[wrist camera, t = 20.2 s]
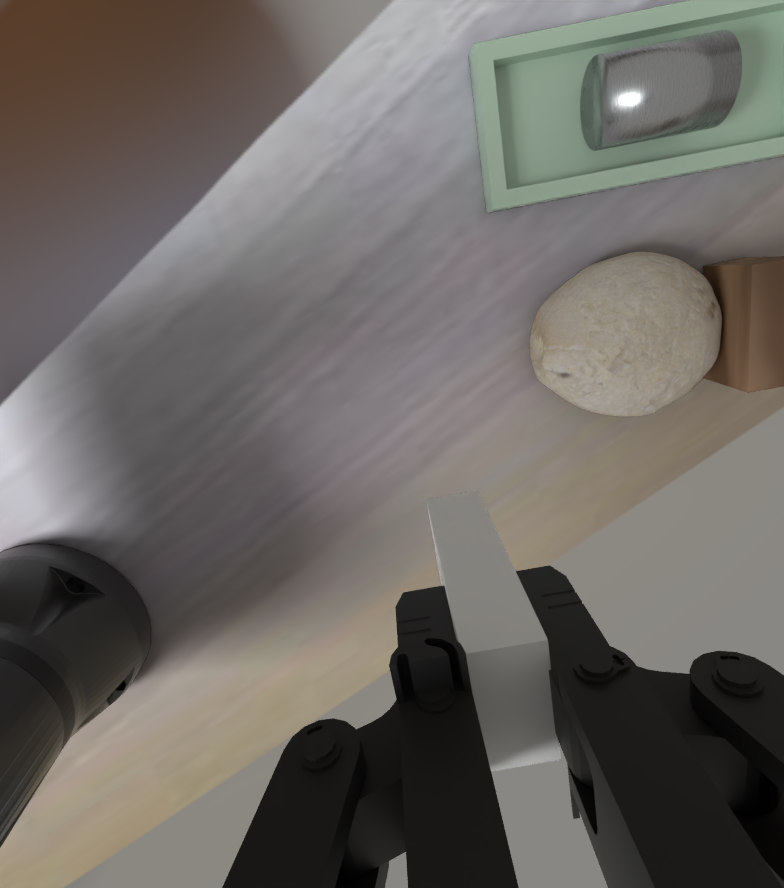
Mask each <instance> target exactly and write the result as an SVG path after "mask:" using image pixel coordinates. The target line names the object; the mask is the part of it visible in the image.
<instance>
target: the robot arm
mask: <svg viewBox="0 0 784 888" xmlns="http://www.w3.org/2000/svg"><path fill="white" fill-rule="evenodd" d="M426 501H427V507H428V512H429V518H430V524H431V529H432V535H433V541H434V547H435V552H436V558H437V564H438V569H439V575H440V581H441V585H442V586H438V587H432V588H427V589H421V590H415V591H409V592H404V593H403V594H402V596H401V598H400V600H399V602H398V603H397V605H396V621H397V635H398V648H397V649H396V650H395V651H394V653H393V654H392V656H391V660H390V664H389V667H390V671H391V675H392V680H393V685H394V689H395V694H396V698H397V700H396V702H395V703H394V705H393V706H392V707H391V708H390V710H388V711H387V712H386V713H385V714H384V715H383V716H382V717H380V718H378V719H377V720H375V721H373V722H371V723H369V724H367V725H365V726H363V727H361V728H358V729H355V728H354V727H353V726H351V725H350V724H349V723H347V722H346V721H342V720H337V719H326V720H319V721H316V722H314V723H312V724H310V725H308V726H305V727H304V728H303V729H301V730H300V731H299V732H298V733H297V734H295V735H294V736H293V737H292V738H291V740H290V741H289V743H288V744H287V746H286V748H285V749H284V751H283V753H282V755H281V758H280V760H279V762H278V764H277V766H276V769H275V771H274V773H273V775H272V778H271V780H270V782H269V785H268V786H267V789H266V791H265V793H264V795H263V798H262V800H261V802H260V805H259V807H258V809H257V812H256V814H255V816H254V818H253V820H252V823H251V825H250V827H249V829H248V831H247V834H246V836H245V838H244V841H243V842H242V845H241V847H240V849H239V851H238V854H237V856H236V858H235V860H234V863H233V865H232V867H231V869H230V872H229V874H228V876H227V879H226V881H225V883H224V885H223V887H222V888H385V883H386V878H387V873H388V868H389V861H390V860H391V859H393V858H395V857H397V856H399V855H400V854H402V853H404V852H406V856H407V857H406V858H407V875H408V888H518V884H517V879H516V875H515V871H514V867H513V863H512V858H511V854H510V850H509V846H508V841H507V837H506V833H505V829H504V824H503V820H502V816H501V812H500V807H499V803H498V799H497V795H496V790H495V786H494V782H493V778H492V774H491V771H496V770H501V769H508V768H514V767H520V766H526V765H533V764H539V763H545V762H550V761H557V760H560V759H561V758H560V749H559V743H560V745H561V748H562V751H563V753H564V756H565V758H566V761H567V765H568V775H569V785H570V793H571V794H570V795H571V803H572V811H573V817H574V819H575V818H580V815H579V812H580V814H581V817H582V820H583V822H584V825H585V827H586V830H587V833H588V835H589V838H590V840H591V843H592V846H593V848H594V851H595V854H596V856H597V859H598V862H599V865H600V867H601V870H602V873H603V875H604V878H605V880H606V883H607V886H608V888H784V675H782V674H781V673H779V672H778V671H776V670H775V669H774V668H772V667H771V666H769V665H767V664H765V663H764V662H761V661H760V660H758V659H756V658H754V657H751V656H747V655H744V654H741V653H737V652H726V651H715V652H711V653H706V654H703V655H701V656H700V657H698V658H697V659H695V660H694V661H693V664H692V666H691V668H690V674H684V673H671V672H659V671H653V670H647V669H644V668H641V667H638V666H636V665H635V663H634V662H633V661H632V660H631V659H630V658H629V657H628V656H627V655H626V654H625V653H623V652H621V651H619V650H617V649H615V648H613V647H610V646H609V644H608V642H607V641H606V639H605V638H604V636H603V634H602V633H601V631H600V630H599V628H598V627H597V625H596V623H595V622H594V620H593V619H592V617H591V615H590V614H589V612H588V611H587V609H586V607H585V606H584V604H582V601H581V600H580V598H579V596H578V595H577V593H575V591H574V588H573V587H572V585H571V584H570V582H569V580H568V579H567V577H566V576H565V575H564V574H562V573H560V572H559V571H557V570H556V569H554V568H553V567H551V566H544V567H538V568H533V569H527V570H521V571H515V569H514V567H513V565H512V563H511V560H510V558H509V556H508V554H507V552H506V550H505V548H504V546H503V543H502V541H501V539H500V537H499V535H498V533H497V531H496V529H495V526H494V524H493V522H492V520H491V518H490V516H489V514H488V512H487V509H486V507H485V505H484V503H483V501H482V499H481V497H480V495H479V492H478V490H476V491H470V492H465V493H459V494H454V495H448V496H443V497H437V498H431V499H426ZM150 641H151V628H150V621H149V617H148V614H147V611H146V609H145V606H144V604H143V602H142V600H141V598H140V597H139V595H138V594H137V592H136V591H135V589H134V588H133V587H132V586H131V585H130V583H129V582H128V581H127V580H126V579H125V578H124V577H123V576H122V575H121V574H119V573H118V572H117V571H116V570H114V569H113V568H112V567H110V566H109V565H107V564H106V563H104V562H103V561H101V560H99V559H97V558H95V557H93V556H91V555H89V554H86V553H84V552H81V551H78V550H75V549H72V548H68V547H63V546H57V545H47V544H34V545H25V546H19V547H14V548H11V549H8V550H5V551H3V552H0V847H1V846H2V844H3V843H4V841H5V840H6V838H7V836H8V835H9V833H10V832H11V830H12V828H13V827H14V825H15V824H16V822H17V820H18V819H19V817H20V816H21V814H22V813H23V811H24V809H25V808H26V806H27V805H28V803H29V801H30V800H31V798H32V797H33V795H34V794H35V792H36V790H37V789H38V787H39V786H40V784H41V782H42V781H43V779H44V778H45V776H46V774H47V773H48V771H49V770H50V768H51V767H52V765H53V763H54V762H55V760H56V758H57V757H58V755H59V754H60V752H61V751H62V749H63V747H64V746H65V744H66V743H67V742H68V740H69V739H70V737H72V736H73V735H74V734H75V733H76V732H78V731H79V730H80V729H81V728H82V727H84V726H85V725H86V724H87V723H89V722H90V721H91V720H92V719H94V718H95V717H96V716H97V715H99V714H100V713H101V712H102V711H103V710H105V709H106V708H107V707H108V706H109V705H111V704H112V703H113V702H115V701H116V700H117V699H118V698H119V697H120V696H121V695H122V694H123V693H124V692H125V691H126V690H127V689H128V687H129V686H130V685H131V683H132V682H133V680H134V679H135V677H136V675H137V674H138V672H139V670H140V669H141V667H142V665H143V663H144V661H145V659H146V657H147V655H148V651H149V647H150Z"/></svg>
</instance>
